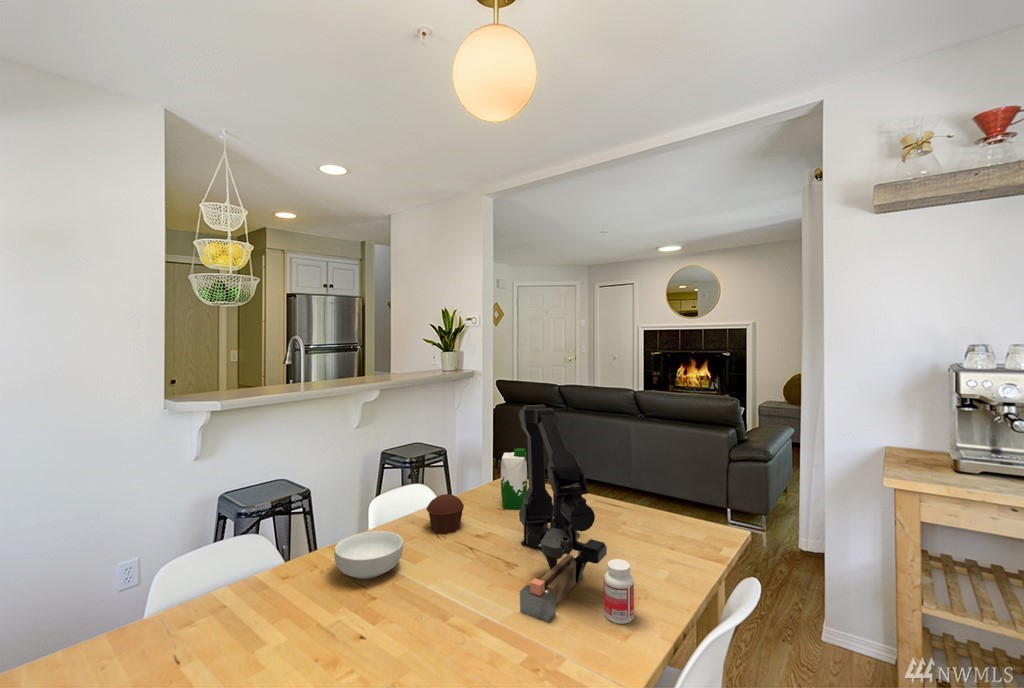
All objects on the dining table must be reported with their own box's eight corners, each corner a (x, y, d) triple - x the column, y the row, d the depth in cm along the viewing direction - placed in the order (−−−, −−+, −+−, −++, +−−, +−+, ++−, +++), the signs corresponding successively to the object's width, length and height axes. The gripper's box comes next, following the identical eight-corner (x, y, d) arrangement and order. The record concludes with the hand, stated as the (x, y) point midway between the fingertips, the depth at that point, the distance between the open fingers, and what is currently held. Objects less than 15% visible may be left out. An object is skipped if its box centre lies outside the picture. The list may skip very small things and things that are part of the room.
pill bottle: (621, 604, 100) (621, 554, 100) (640, 620, 95) (640, 567, 95) (598, 612, 98) (598, 561, 98) (616, 628, 92) (616, 574, 92)
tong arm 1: (544, 605, 100) (543, 585, 100) (536, 602, 101) (536, 582, 101) (575, 573, 113) (575, 556, 113) (568, 571, 114) (568, 553, 114)
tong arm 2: (552, 608, 99) (552, 588, 99) (544, 606, 100) (544, 585, 100) (583, 576, 112) (582, 558, 112) (575, 573, 113) (575, 556, 113)
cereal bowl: (416, 570, 116) (416, 542, 116) (355, 597, 104) (355, 567, 104) (381, 549, 128) (380, 524, 128) (322, 572, 116) (322, 544, 115)
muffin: (449, 517, 150) (449, 487, 149) (471, 527, 142) (471, 495, 142) (419, 529, 141) (418, 497, 141) (440, 540, 133) (440, 506, 133)
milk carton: (526, 511, 155) (525, 452, 155) (499, 510, 156) (499, 452, 156) (527, 501, 164) (527, 446, 163) (502, 501, 165) (502, 446, 164)
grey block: (520, 611, 98) (519, 590, 98) (528, 603, 101) (528, 583, 101) (548, 622, 94) (548, 600, 94) (556, 613, 97) (556, 592, 97)
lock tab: (530, 592, 97) (530, 582, 97) (535, 588, 99) (534, 578, 99) (540, 596, 96) (540, 585, 96) (544, 591, 98) (544, 581, 98)
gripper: (514, 517, 107) (514, 583, 107) (587, 535, 97) (588, 608, 97) (537, 502, 116) (538, 563, 116) (607, 517, 106) (607, 584, 106)
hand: (565, 578), depth 109 cm, fingers open, 6 cm apart
